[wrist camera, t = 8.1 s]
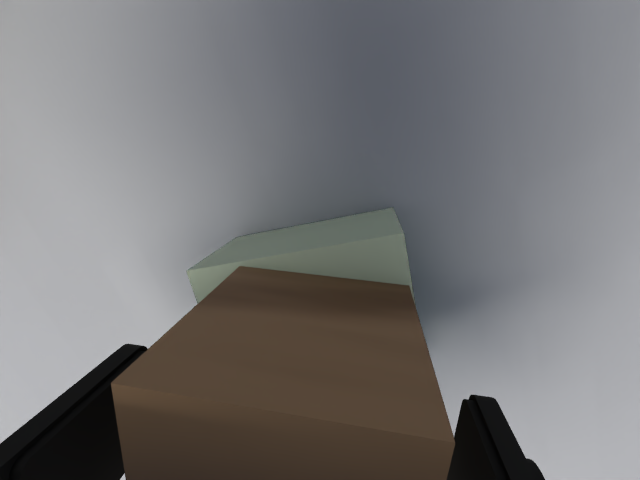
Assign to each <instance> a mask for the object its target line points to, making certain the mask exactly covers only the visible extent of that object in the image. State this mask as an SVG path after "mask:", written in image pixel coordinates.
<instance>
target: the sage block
mask: <svg viewBox="0 0 640 480" xmlns="http://www.w3.org/2000/svg"><path fill="white" fill-rule="evenodd" d="M239 266H245V267H253V268H262V269H271V270H279V271H288V272H297V273H305V274H314V275H323V276H331V277H340V278H349V279H357V280H366V281H375V282H383V283H392V284H401V285H409V286H410V290H411V293H412V297H413V300H414V303H415V299H414V293H413V287H412V280H411V274H410V268H409V262H408V256H407V250H406V244H405V237H404V232H403V230H402V228H401V225H400V223H399V220H398V218H397V216H396V213H395V211H394V209H393V207H392V208H387V209H382V210H376V211H371V212H366V213H361V214H355V215H350V216H345V217H340V218H334V219H329V220H324V221H319V222H313V223H308V224H303V225H298V226H293V227H287V228H282V229H277V230H272V231H266V232H261V233H256V234H251V235H245V236H240V237H236V238H235V239H233V240H232V241H230V242H229V243H227V244H226V245H224V246H223V247H221V248H220V249H218V250H217V251H215V252H214V253H212V254H211V255H209V256H208V257H206V258H205V259H203V260H202V261H200V262H199V263H197V264H196V265H194V266H193V267H191V268H190V269H188V270H187V271H186V272H187V275H188V277H189V280H190V283H191V286H192V289H193V292H194V295H195V298H196V300H197V303H199V302H201V301H202V300H203V299H204V298H205V297H206V296H207V295H208V294H209V293H210V292H212V291H213V290H214V289H215V288H216V287H217V286H218V285H219V284H220V283H221V282H223V281H224V280H225V279H226V278H227V277H228V276H229V275H230V274H231V273H232V272H234V271H235V270H236V269H237V268H238V267H239ZM415 307H416V305H415Z"/></svg>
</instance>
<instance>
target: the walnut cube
mask: <svg viewBox="0 0 640 480" xmlns="http://www.w3.org/2000/svg"><path fill="white" fill-rule="evenodd" d="M111 388H112V394H113V401H114V407H115V413H116V420H117V426H118V433H119V439H120V445H121V452H122V458H123V464H124V471H125V477H126V480H447V476H448V472H449V467H450V463H451V459H452V455H453V451H454V446H455V440H454V436H453V433H452V430H451V426H450V423H449V419H448V416H447V412H446V409H445V406H444V402H443V399H442V395H441V392H440V389H439V385H438V382H437V378H436V375H435V372H434V368H433V365H432V361H431V358H430V355H429V351H428V348H427V344H426V341H425V337H424V334H423V331H422V327H421V324H420V320H419V317H418V314H417V310H416V307H415V303H414V300H413V297H412V293H411V290H410V286H409V285H401V284H392V283H383V282H375V281H366V280H357V279H349V278H340V277H331V276H323V275H314V274H305V273H297V272H288V271H279V270H271V269H262V268H253V267H245V266H239V267H238V268H237V269H236V270H235V271H234V272H232V273H231V274H230V275H229V276H228V277H227V278H226V279H225V280H224V281H223V282H221V283H220V284H219V285H218V286H217V287H216V288H215V289H214V290H213V291H212V292H210V293H209V294H208V295H207V296H206V297H205V298H204V299H203V300H202V301H201V302H199V303H198V304H197V305H196V306H195V307H194V308H193V309H192V310H191V311H190V312H188V313H187V314H186V315H185V316H184V317H183V318H182V319H181V320H180V321H179V322H177V323H176V324H175V325H174V326H173V327H172V328H171V329H170V330H169V331H168V332H166V333H165V334H164V335H163V336H162V337H161V338H160V339H159V340H158V341H157V342H155V343H154V344H153V345H152V346H151V347H150V348H149V349H148V350H147V351H146V352H144V353H143V354H142V355H141V356H140V357H139V358H138V359H137V360H136V361H135V362H133V363H132V364H131V365H130V366H129V367H128V368H127V369H126V370H125V371H124V372H122V373H121V374H120V375H119V376H118V377H117V378H116V379H115V380H114V381H113V382H111Z"/></svg>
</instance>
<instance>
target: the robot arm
mask: <svg viewBox="0 0 640 480" xmlns="http://www.w3.org/2000/svg"><path fill="white" fill-rule="evenodd" d="M147 350H148V349H147V348H146V347H145V346H139V345H133V344H125V345H123V346H122V347H121V348H119V349H118V350H117V351H116V352H114V353H113V354H112V355H111V356H109V357H108V358H107V359H106V360H104V361H103V362H102V363H101V364H99V365H98V366H97V367H96V368H94V369H93V370H92V371H91V372H89V373H88V374H87V375H86V376H84V377H83V378H82V379H81V380H79V381H78V382H77V383H76V384H74V385H73V386H72V387H71V388H69V389H68V390H67V391H66V392H64V393H63V394H62V395H61V396H59V397H58V398H57V399H56V400H54V401H53V402H52V403H51V404H49V405H48V406H47V407H46V408H44V409H43V410H42V411H41V412H39V413H38V414H37V415H36V416H34V417H33V418H32V419H31V420H29V421H28V422H27V423H26V424H24V425H23V426H22V427H21V428H19V429H18V430H17V431H16V432H14V433H13V434H12V435H11V436H9V437H8V438H7V439H6V440H4V441H3V442H2V443H1V444H0V480H120V478H121V477H122V476H123V474H124V473H125V471H124V464H123V458H122V452H121V445H120V439H119V433H118V426H117V420H116V413H115V407H114V401H113V394H112V388H111V382H113V381H114V380H115V379H116V378H117V377H118V376H119V375H120V374H121V373H122V372H124V371H125V370H126V369H127V368H128V367H129V366H130V365H131V364H132V363H133V362H135V361H136V360H137V359H138V358H139V357H140V356H141V355H142V354H143V353H144V352H146V351H147ZM454 440H455V446H454V451H453V455H452V459H451V463H450V467H449V472H448V476H447V480H545V479H544V477H543V475H542V473H541V471H540V469H539V468H538V466H537V465H536V463H534V462H533V461H532V460H531V459H526V458H525V456H524V454H523V452H522V450H521V448H520V446H519V444H518V442H517V440H516V438H515V436H514V434H513V432H512V430H511V428H510V426H509V424H508V422H507V420H506V418H505V416H504V414H503V412H502V410H501V408H500V406H499V404H498V402H497V401H496V399H494V398H492V397H485V396H478V395H471V396H470V397H469V400H466V399H464V400H463V401H462V405H461V409H460V414H459V418H458V423H457V427H456V432H455V436H454Z"/></svg>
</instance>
